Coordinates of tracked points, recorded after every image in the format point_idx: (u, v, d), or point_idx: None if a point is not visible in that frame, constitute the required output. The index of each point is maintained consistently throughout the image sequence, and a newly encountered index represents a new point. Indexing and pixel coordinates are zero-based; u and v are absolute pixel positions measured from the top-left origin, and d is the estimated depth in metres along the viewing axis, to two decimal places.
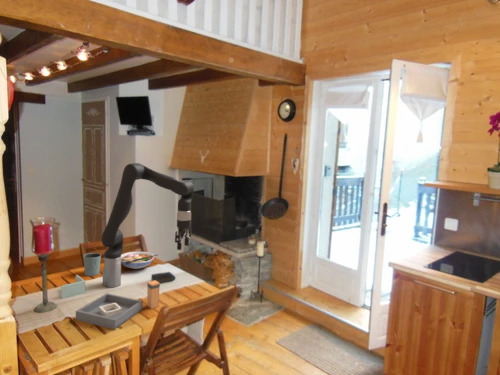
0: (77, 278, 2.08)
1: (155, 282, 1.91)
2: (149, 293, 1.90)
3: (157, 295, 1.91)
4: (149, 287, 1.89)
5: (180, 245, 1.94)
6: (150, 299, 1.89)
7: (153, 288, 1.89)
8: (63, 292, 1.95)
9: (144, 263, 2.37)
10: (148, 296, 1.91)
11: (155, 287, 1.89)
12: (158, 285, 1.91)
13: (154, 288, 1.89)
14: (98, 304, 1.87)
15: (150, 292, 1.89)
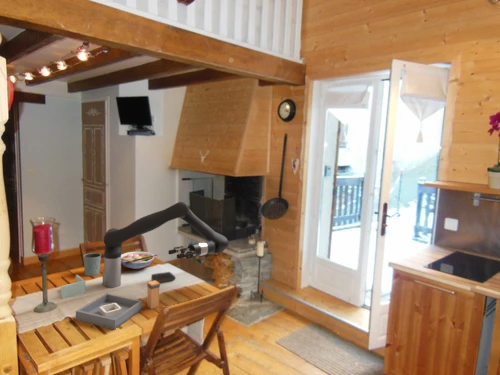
0: (77, 278, 2.08)
1: (155, 282, 1.91)
2: (149, 293, 1.90)
3: (157, 295, 1.91)
4: (149, 287, 1.89)
5: (181, 257, 1.95)
6: (150, 299, 1.89)
7: (153, 288, 1.89)
8: (63, 292, 1.95)
9: (144, 263, 2.37)
10: (148, 296, 1.91)
11: (155, 287, 1.89)
12: (158, 285, 1.91)
13: (154, 288, 1.89)
14: (98, 304, 1.87)
15: (150, 292, 1.89)
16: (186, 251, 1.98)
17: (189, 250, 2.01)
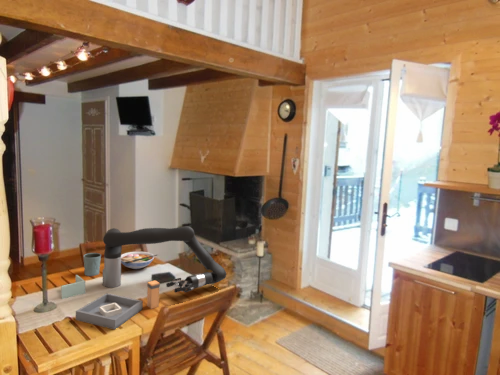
0: (77, 278, 2.08)
1: (155, 282, 1.91)
2: (149, 293, 1.90)
3: (157, 295, 1.91)
4: (149, 287, 1.89)
5: None
6: (150, 299, 1.89)
7: (153, 288, 1.89)
8: (63, 292, 1.94)
9: (144, 263, 2.37)
10: (148, 296, 1.91)
11: (155, 287, 1.89)
12: (158, 285, 1.91)
13: (154, 288, 1.89)
14: (98, 304, 1.87)
15: (150, 292, 1.89)
16: (184, 284, 2.00)
17: (187, 283, 2.03)
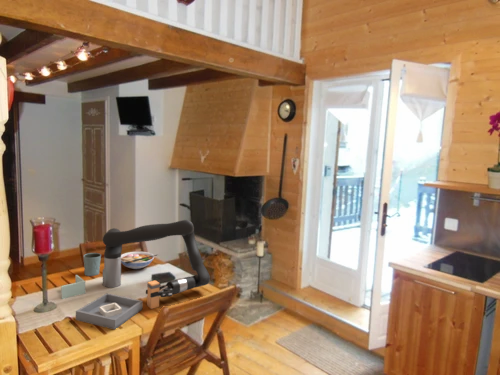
0: (77, 278, 2.08)
1: (155, 282, 1.91)
2: (149, 293, 1.90)
3: None
4: (149, 287, 1.89)
5: (155, 296, 1.89)
6: (150, 299, 1.89)
7: (153, 288, 1.89)
8: (63, 292, 1.94)
9: (144, 263, 2.37)
10: (148, 296, 1.91)
11: (155, 287, 1.89)
12: (158, 285, 1.90)
13: (155, 288, 1.89)
14: (98, 304, 1.87)
15: (150, 292, 1.89)
16: (162, 289, 1.92)
17: (167, 288, 1.95)
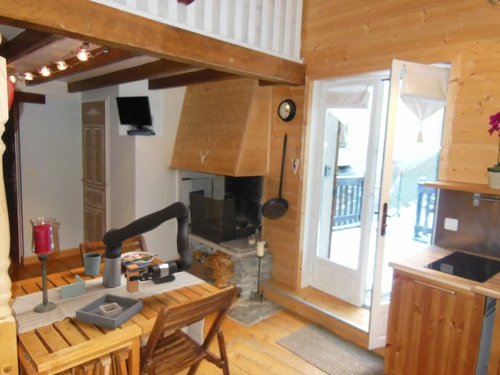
0: (77, 278, 2.08)
1: (134, 266, 1.84)
2: (128, 277, 1.83)
3: None
4: (128, 271, 1.82)
5: (134, 280, 1.82)
6: (129, 283, 1.82)
7: (132, 272, 1.82)
8: (63, 292, 1.94)
9: (144, 263, 2.37)
10: (127, 280, 1.84)
11: (134, 271, 1.82)
12: (138, 269, 1.84)
13: (134, 271, 1.82)
14: (98, 304, 1.87)
15: (129, 276, 1.82)
16: (141, 273, 1.85)
17: (147, 272, 1.88)
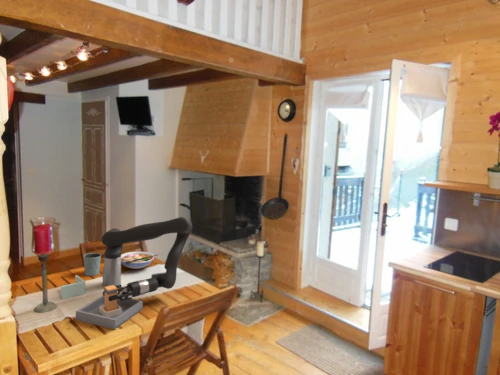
0: (77, 278, 2.08)
1: (112, 287, 1.80)
2: (105, 299, 1.79)
3: (114, 301, 1.79)
4: (106, 292, 1.78)
5: (114, 299, 1.77)
6: (107, 305, 1.78)
7: (110, 294, 1.77)
8: (63, 292, 1.94)
9: (144, 263, 2.37)
10: (105, 302, 1.80)
11: (112, 292, 1.78)
12: (116, 290, 1.79)
13: (111, 293, 1.78)
14: (98, 304, 1.87)
15: (107, 298, 1.78)
16: (121, 292, 1.80)
17: (126, 290, 1.83)
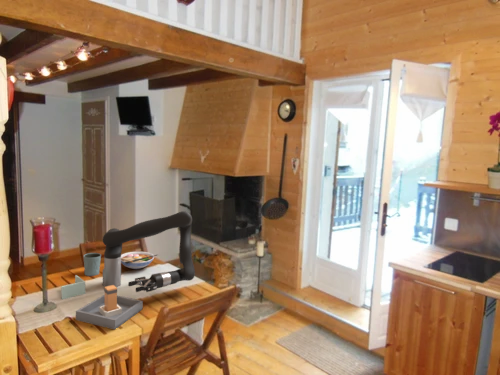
0: (77, 278, 2.07)
1: (112, 287, 1.80)
2: (105, 299, 1.79)
3: (114, 301, 1.79)
4: (106, 292, 1.78)
5: (140, 290, 1.86)
6: (107, 305, 1.78)
7: (110, 294, 1.77)
8: (63, 293, 1.94)
9: (144, 263, 2.37)
10: (105, 302, 1.80)
11: (112, 292, 1.78)
12: (116, 290, 1.79)
13: (111, 293, 1.78)
14: (98, 304, 1.87)
15: (107, 298, 1.78)
16: (146, 283, 1.89)
17: (150, 282, 1.93)
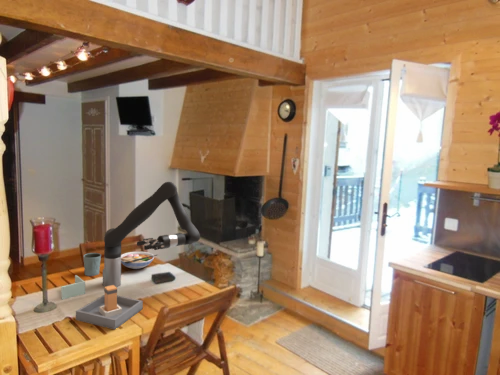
0: (76, 279, 2.07)
1: (112, 287, 1.80)
2: (105, 299, 1.79)
3: (114, 301, 1.79)
4: (106, 292, 1.78)
5: (149, 248, 1.94)
6: (107, 305, 1.78)
7: (110, 294, 1.77)
8: (63, 293, 1.94)
9: (144, 263, 2.37)
10: (105, 302, 1.80)
11: (112, 292, 1.78)
12: (116, 290, 1.79)
13: (111, 293, 1.78)
14: (98, 304, 1.87)
15: (107, 298, 1.78)
16: (154, 242, 1.97)
17: (158, 242, 2.00)
